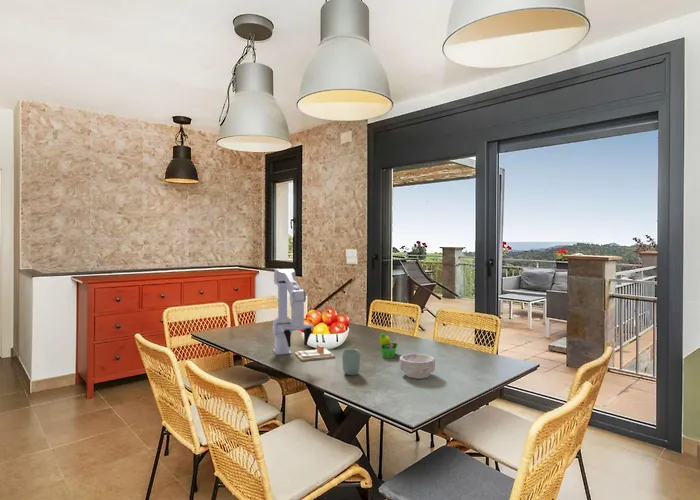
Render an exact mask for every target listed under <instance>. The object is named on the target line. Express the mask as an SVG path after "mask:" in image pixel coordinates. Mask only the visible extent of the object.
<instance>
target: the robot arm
mask: <svg viewBox="0 0 700 500" xmlns="http://www.w3.org/2000/svg"><path fill="white" fill-rule="evenodd" d="M295 279H296V271H295V269H294V268H276V269H275V270H274V272H273V281H274V282H273V283H274V285H277V309H278V311H277V313H278V314H277V317H275V318H274V319H273V320H272V326H271V327H272V328H271V332H272V334H273V336H275V337H274V348H273V349H272V351H273V352H274V354H276V355H277V356H278V355H288V354H292V353H293V352H292V350H290V348H291V344H292V343H291V335H292V334H293V332H294V331H303V335H304V336H303V345H304V346H305V347H306V346H307V345H308V342H309V338H310V336H311V335H312V331H313V330H314V324H311V323H310V324H304V323H305V302H306V298H307V294H306V293H307V292H306V290H305V289H302V288H301V287H300V285H299V283H298V281H295ZM288 293H289V301H290V302H289V303H290V307H291V309H290V314H291V315H290V317H289V316H288Z"/></svg>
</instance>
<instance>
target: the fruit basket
mask: <svg viewBox="0 0 700 500" xmlns="http://www.w3.org/2000/svg"><path fill="white" fill-rule="evenodd" d="M378 338H379V344H380V345H381V346H380V350H381V354H382V358H384V359H385V358H386V359H394V357H395V354H396V351H397V348H398V347H397V346H398V343H395V342H391V337H390V336H388V335H386V334H385V332H383V333H380V334H379V337H378Z"/></svg>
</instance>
